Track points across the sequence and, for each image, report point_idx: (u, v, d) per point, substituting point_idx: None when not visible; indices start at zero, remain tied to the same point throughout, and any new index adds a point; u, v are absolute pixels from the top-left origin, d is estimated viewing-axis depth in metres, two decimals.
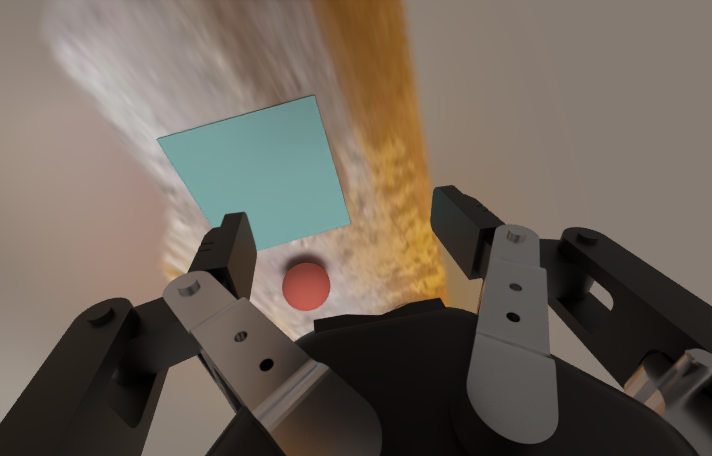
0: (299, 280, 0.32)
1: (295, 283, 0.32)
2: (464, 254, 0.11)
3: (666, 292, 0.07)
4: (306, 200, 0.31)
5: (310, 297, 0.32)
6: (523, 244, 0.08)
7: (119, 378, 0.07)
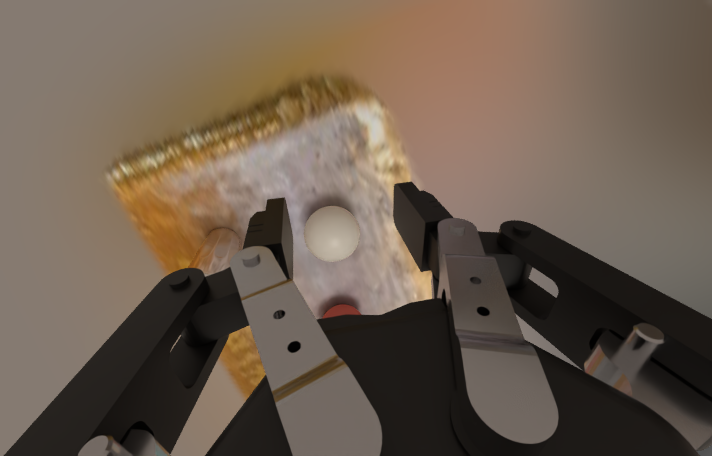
0: None
1: None
2: (416, 247, 0.11)
3: (599, 272, 0.07)
4: None
5: None
6: (460, 236, 0.09)
7: (186, 339, 0.08)
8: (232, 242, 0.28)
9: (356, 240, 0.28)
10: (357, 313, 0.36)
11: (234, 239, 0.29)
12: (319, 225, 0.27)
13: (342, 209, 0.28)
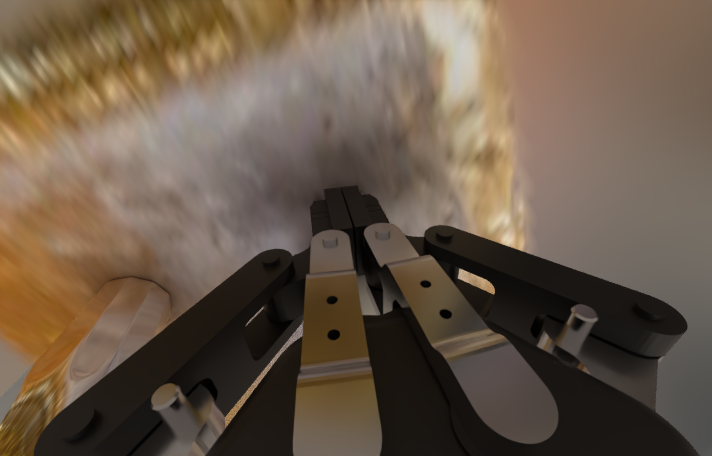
0: None
1: None
2: None
3: (523, 262, 0.08)
4: None
5: None
6: (382, 241, 0.09)
7: (267, 313, 0.09)
8: (141, 314, 0.13)
9: None
10: None
11: (150, 303, 0.14)
12: None
13: None
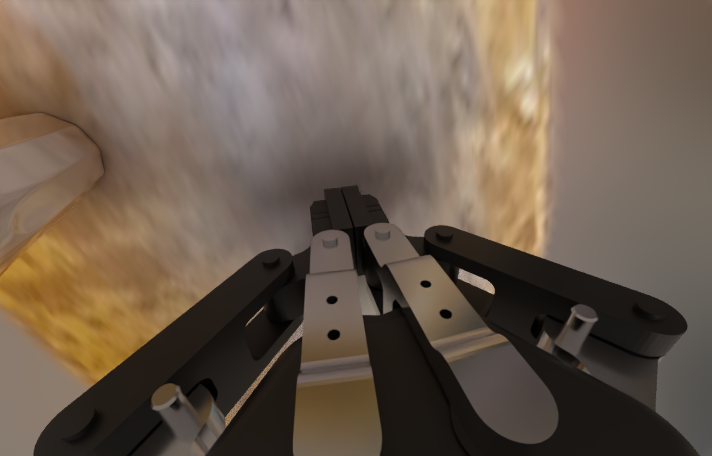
0: None
1: None
2: None
3: (523, 262, 0.08)
4: None
5: None
6: (382, 241, 0.09)
7: (267, 313, 0.09)
8: (45, 141, 0.10)
9: None
10: None
11: (64, 140, 0.10)
12: None
13: None
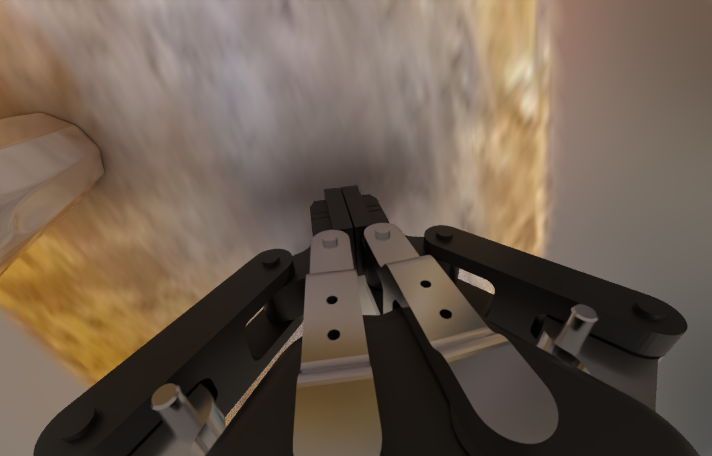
0: None
1: None
2: None
3: (523, 262, 0.08)
4: None
5: None
6: (382, 241, 0.09)
7: (267, 313, 0.09)
8: (45, 141, 0.10)
9: None
10: None
11: (64, 140, 0.10)
12: None
13: None
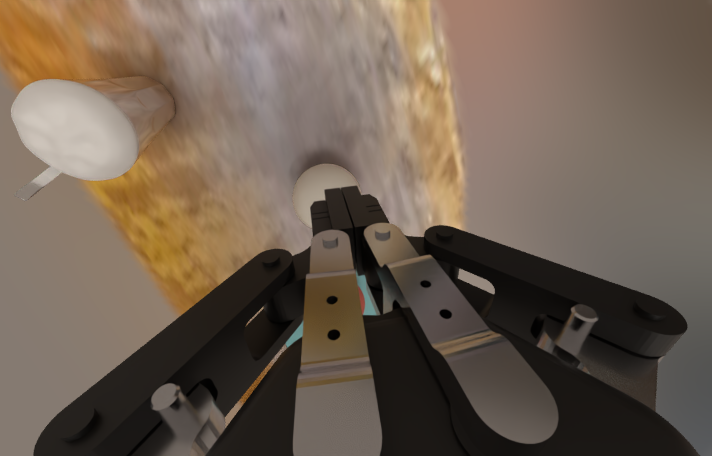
0: None
1: None
2: None
3: (523, 262, 0.08)
4: None
5: None
6: (382, 241, 0.09)
7: (267, 313, 0.09)
8: (154, 89, 0.18)
9: None
10: None
11: (160, 90, 0.19)
12: None
13: None
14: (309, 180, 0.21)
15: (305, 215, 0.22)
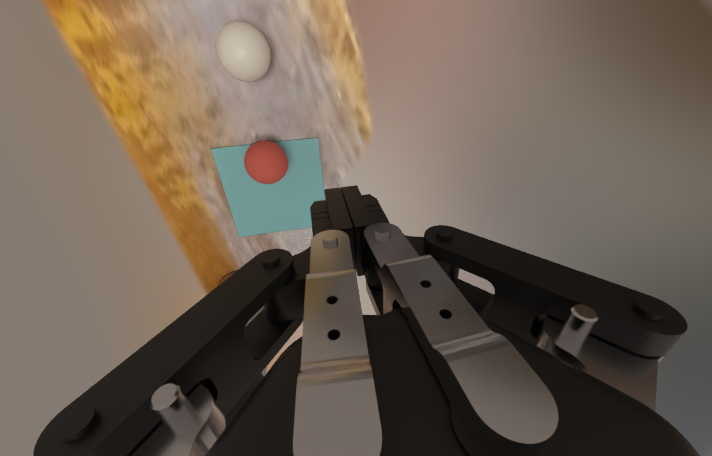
0: None
1: None
2: None
3: (523, 262, 0.08)
4: (249, 177, 0.41)
5: None
6: (382, 241, 0.09)
7: (267, 313, 0.09)
8: None
9: None
10: (283, 174, 0.38)
11: None
12: None
13: (259, 75, 0.32)
14: (224, 28, 0.29)
15: (222, 55, 0.30)
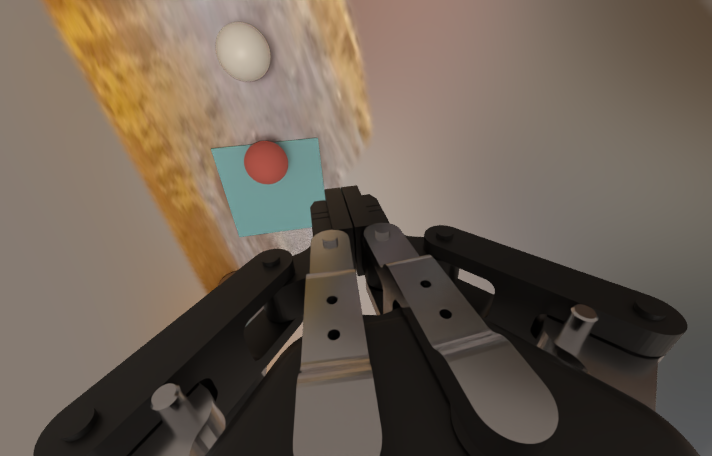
0: None
1: None
2: None
3: (523, 262, 0.08)
4: (249, 177, 0.41)
5: None
6: (382, 241, 0.09)
7: (267, 313, 0.09)
8: None
9: None
10: (283, 175, 0.38)
11: None
12: None
13: (259, 75, 0.32)
14: (224, 28, 0.29)
15: (222, 55, 0.30)
